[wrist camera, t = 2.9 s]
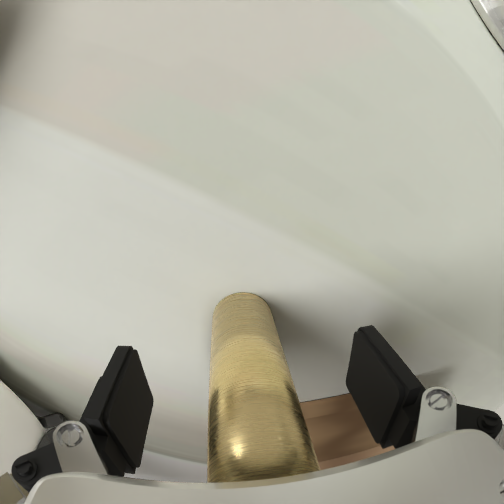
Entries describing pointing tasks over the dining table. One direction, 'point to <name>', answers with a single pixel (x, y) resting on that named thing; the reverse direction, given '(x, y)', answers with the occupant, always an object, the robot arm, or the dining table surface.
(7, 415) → the coffee press
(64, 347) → the dining table surface
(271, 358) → the brass peg
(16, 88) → the dining table surface
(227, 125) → the dining table surface
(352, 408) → the hole block
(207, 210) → the dining table surface
